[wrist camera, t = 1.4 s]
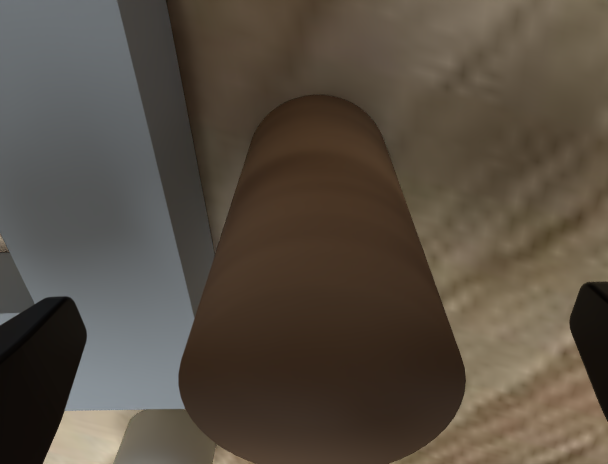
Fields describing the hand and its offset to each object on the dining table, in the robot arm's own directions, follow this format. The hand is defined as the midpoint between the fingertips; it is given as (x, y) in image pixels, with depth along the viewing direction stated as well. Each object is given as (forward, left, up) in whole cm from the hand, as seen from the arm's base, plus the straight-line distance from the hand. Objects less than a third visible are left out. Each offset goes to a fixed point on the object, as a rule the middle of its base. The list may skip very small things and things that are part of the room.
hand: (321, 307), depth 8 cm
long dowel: (0, 0, -6) cm, 6 cm away
